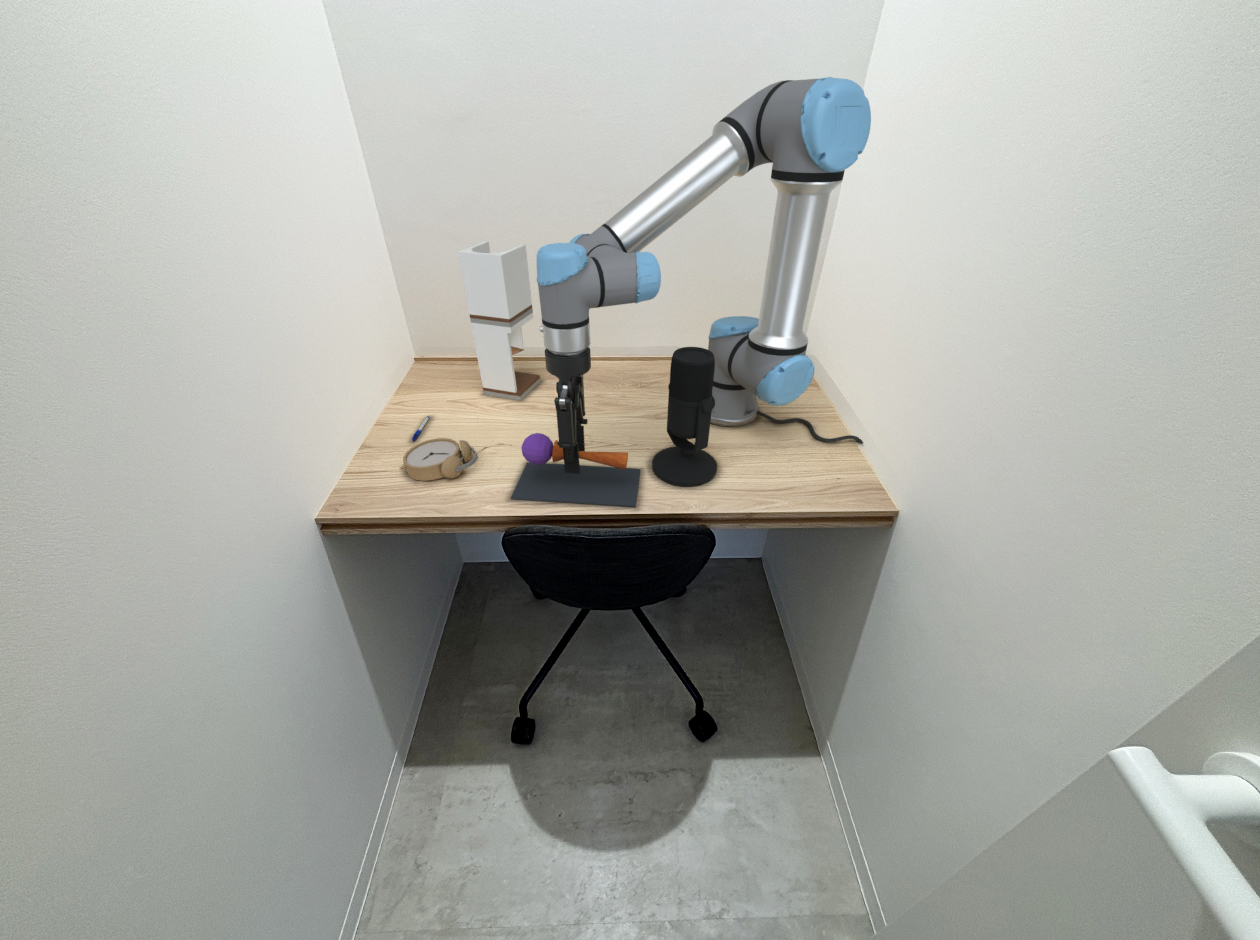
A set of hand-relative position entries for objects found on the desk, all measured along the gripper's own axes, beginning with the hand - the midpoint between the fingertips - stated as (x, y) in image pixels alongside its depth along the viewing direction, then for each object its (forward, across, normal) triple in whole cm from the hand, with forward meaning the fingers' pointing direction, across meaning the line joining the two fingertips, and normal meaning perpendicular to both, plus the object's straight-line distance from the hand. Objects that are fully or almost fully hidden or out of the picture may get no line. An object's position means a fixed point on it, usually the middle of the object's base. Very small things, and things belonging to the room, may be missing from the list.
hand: (575, 463), depth 96 cm
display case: (+6, -41, -25) cm, 48 cm away
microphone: (+6, -9, +21) cm, 24 cm away
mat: (+6, -1, 0) cm, 6 cm away
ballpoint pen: (+6, -18, -40) cm, 44 cm away
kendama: (0, 0, 0) cm, 0 cm away
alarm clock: (+6, -4, -29) cm, 30 cm away
